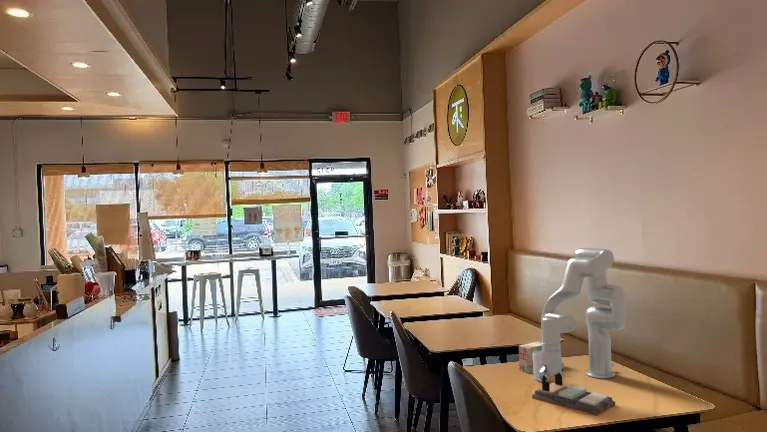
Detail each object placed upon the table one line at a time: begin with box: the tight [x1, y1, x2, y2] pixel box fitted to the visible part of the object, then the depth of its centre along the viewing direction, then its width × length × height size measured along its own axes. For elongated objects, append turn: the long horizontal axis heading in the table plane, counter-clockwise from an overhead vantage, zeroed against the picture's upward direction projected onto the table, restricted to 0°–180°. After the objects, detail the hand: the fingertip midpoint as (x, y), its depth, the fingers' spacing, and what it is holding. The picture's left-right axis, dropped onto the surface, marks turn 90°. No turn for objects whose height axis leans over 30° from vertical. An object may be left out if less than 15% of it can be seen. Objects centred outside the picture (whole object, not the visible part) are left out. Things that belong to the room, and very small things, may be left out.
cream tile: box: [580, 392, 609, 406], centre depth 217 cm, size 11×6×2 cm, turn 132°
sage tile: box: [559, 385, 587, 400], centre depth 223 cm, size 11×6×2 cm, turn 132°
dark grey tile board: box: [531, 385, 616, 417], centre depth 224 cm, size 15×28×3 cm, turn 42°
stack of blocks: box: [518, 341, 542, 374], centre depth 269 cm, size 21×6×12 cm, turn 118°
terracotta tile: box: [539, 382, 567, 395], centre depth 230 cm, size 11×6×2 cm, turn 132°
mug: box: [532, 351, 548, 382], centre depth 253 cm, size 10×7×12 cm, turn 116°
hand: (552, 387), depth 230 cm, fingers open, 9 cm apart
